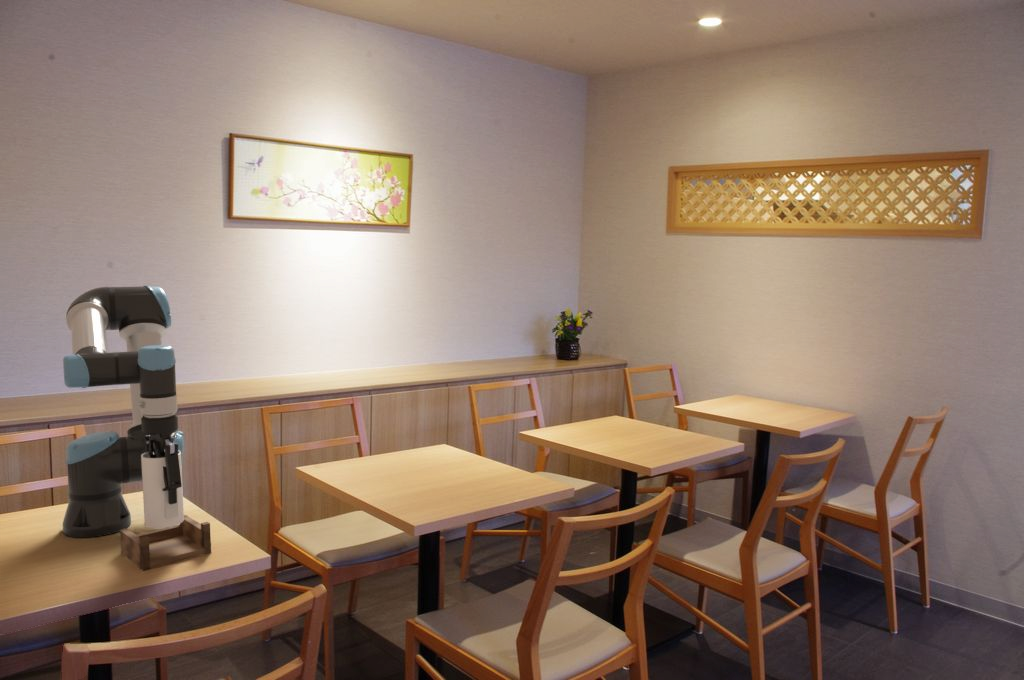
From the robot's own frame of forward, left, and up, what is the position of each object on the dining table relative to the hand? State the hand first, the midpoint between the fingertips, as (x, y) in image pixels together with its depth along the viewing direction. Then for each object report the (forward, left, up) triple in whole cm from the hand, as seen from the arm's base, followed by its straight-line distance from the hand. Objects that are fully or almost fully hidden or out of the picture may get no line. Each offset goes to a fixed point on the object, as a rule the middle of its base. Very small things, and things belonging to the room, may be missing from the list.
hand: (164, 512), depth 181 cm
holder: (0, 0, -10) cm, 10 cm away
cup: (0, 0, -2) cm, 2 cm away
